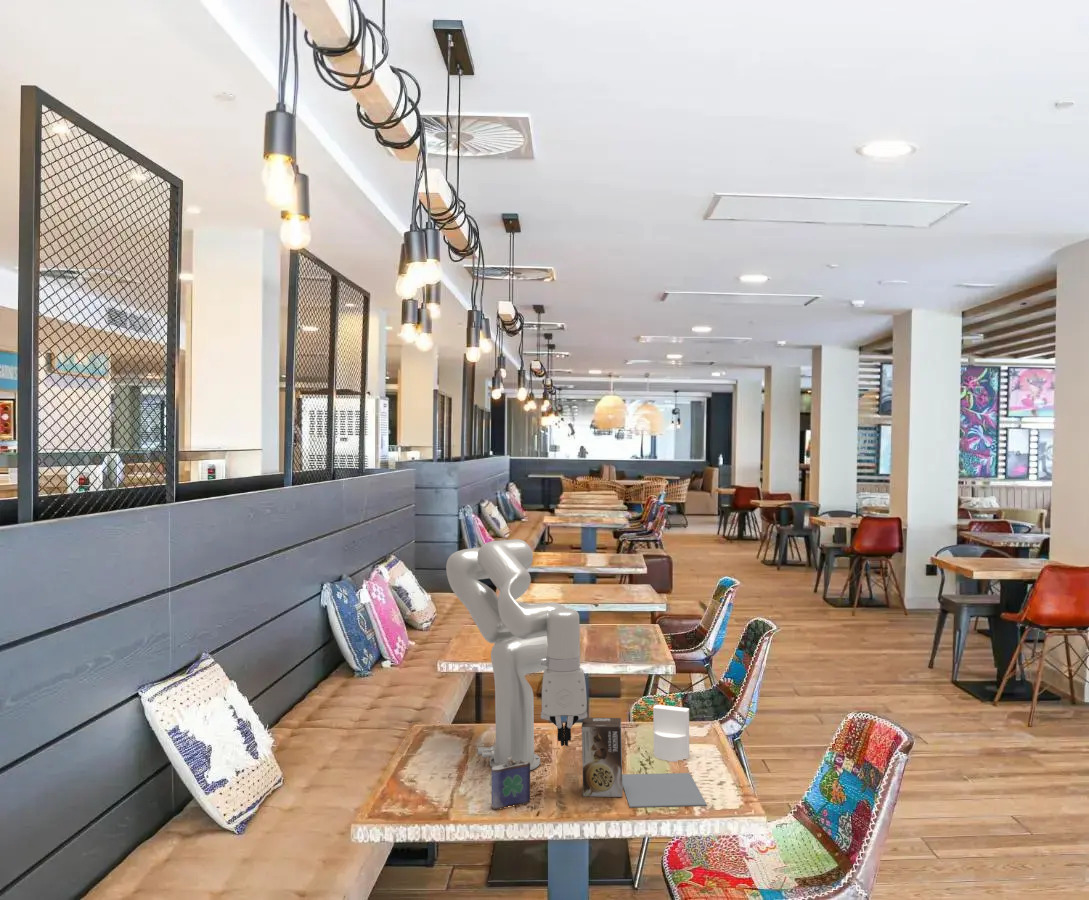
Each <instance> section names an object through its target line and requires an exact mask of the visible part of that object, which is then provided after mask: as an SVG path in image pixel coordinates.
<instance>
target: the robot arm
mask: <svg viewBox="0 0 1089 900" xmlns="http://www.w3.org/2000/svg"><path fill="white" fill-rule="evenodd" d="M533 561H534V555H533V551H532V548H531V547H530V545H529V544H528V543H527V541H524V540H522V539H518V538H514V539H501V540H492V541H489V542H486V543H484V544H483V545H481V546H480V547H474V548H473V547H472V548H463V549H461V550H458V551H455V552H453V553H451V554H450V555H449V557H448V558H447V562H446V565H445V567H446V576H447V580H448V583H449V587H450V588H451V591H453V593H454V595H455V596H456V598H457V599H459V601H460V602H461V603H462V604H463V606H464V607H465V608H466V609H467V611H468V614H470V617H471V618H472V620H473V622H474V624H475V625H476V627H477V629H478V630H479V632H480V634H481V635H482V637H483V639H484V640H485V641H486V642H488V643H489V644H493V646H492V648H491V651H490V659H491V660H490V661H491V667H492V671H493V678H494V690H495V691H494V695H495V698H494V699H495V701H494V702H495V708H494V709H495V742H494V745H490V747H486V746H479V747H477V755H478V756H481V757H482V759H485V758H486V759H487V758H489V765H490V767H491V768H492V767H495V766H498V765H502V764H507V763H506V761H507V758H508V757H507V756H509V755H511V756H512V759H513V760H514V761H519V760H523V761H524V760H526V761H528V762H529V763H530V771H532V770H535V769H536V768H538V767H539V766H540V765H541V757H540V756H539V755H538V754H536V753H535V732H534V731H535V730H534V728H535V727H534V725H535V724H534V723H535V722H534V721H535V718H534V716H535V715H534V714H535V713H534V708H535V707H534V704H535V703H534V692H533V691H534V690H533V688H532V686H531V684H530V683H529V681H528V680H527V678H526V675H529V674H534V673H540V672H543V675H542V683H541V684H542V685H541V712H540V719H542V720H547V721H551V723H553V725H554V726H555V727H556V728H557V741H558V742H560V746H561V747H564V746H566V747H568V746H569V742H571V741H572V727H573V726H574V724H576V723H577V722H578V721H579V720H583V719H584V718H588V712H587V707H588V705H587V703H588V702H587V700H588V699H587V686H586V685H587V684H586V677H585V672H584V669H583V668H582V667H581V649H580V648H581V647H580V646H581V645H580V644H581V643H580V640H581V639H580V637H581V635H580V613H579V611H577V610H575V609H573V608H570V607H569V608H566V607H565V606H563V605H562V604H560V603H558V602H547V603H546V602H545V603H537V604H529V603H524V602H517V599H518V598H520V597H522V596H523V595H524V594H525V593H526V592H527V591H528V589H529V587H530V585H531V581H532V578H531V575H530V572H529V571H528V569H529V568H531V566H532V563H533ZM486 579H490V581H491V582H492V583H493V585H494V586H495V587H496V589H497V590H498V591H499V593H498V595H497V593H496V592H495V591H494V589H492V588H491V587H489V586H488V585H487V584H486V583H483V582H481V581H480V580H486ZM561 717H566V721H565V723H563V722H562V718H561ZM511 756H510V757H511ZM506 757H507V758H506Z"/></svg>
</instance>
